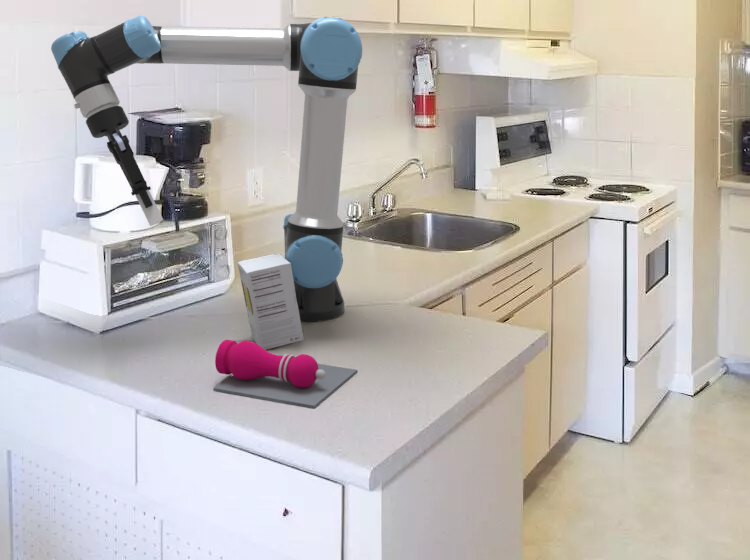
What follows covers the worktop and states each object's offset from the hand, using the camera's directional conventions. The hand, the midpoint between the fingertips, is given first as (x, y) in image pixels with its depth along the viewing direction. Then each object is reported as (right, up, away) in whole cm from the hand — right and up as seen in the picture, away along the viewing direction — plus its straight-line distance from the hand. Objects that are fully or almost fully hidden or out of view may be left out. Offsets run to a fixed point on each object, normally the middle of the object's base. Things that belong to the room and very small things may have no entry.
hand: (156, 222), depth 167 cm
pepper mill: (+15, -25, -12) cm, 32 cm away
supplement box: (+23, -24, +9) cm, 34 cm away
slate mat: (+27, -30, -12) cm, 42 cm away
